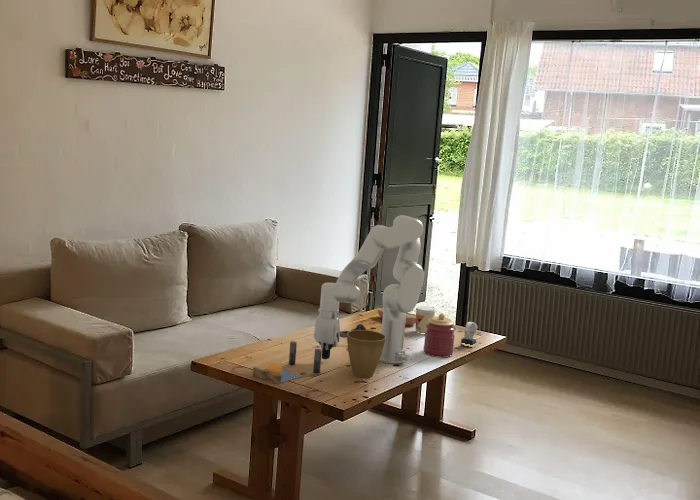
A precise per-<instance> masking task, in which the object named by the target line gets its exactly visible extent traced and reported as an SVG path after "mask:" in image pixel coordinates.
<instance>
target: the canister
mask: <svg viewBox="0 0 700 500" xmlns="http://www.w3.org/2000/svg"><path fill="white" fill-rule="evenodd" d="M428 322H429V323H428V324H426V328H427V329H426V332H425V335H424V344H423V352H425V353H424V354H426V355H428V354H429V355H428V356H431V355H433V356H432V357H436V356H441V357H440V358H444V357H443V356H449V357H451V356H450V355H452V356H453V353H454V349H455V348H454V344H455V343H454V342H455V335H456V334H455V331H456V327H455V326H454V325H455V322H454V321H453V320H452V319H451V318H449V317H445V314H444V313H440V314H438V316H434V317H432V318H431V319H429V320H428Z"/></svg>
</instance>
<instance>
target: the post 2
mask: <svg viewBox="0 0 700 500" xmlns="http://www.w3.org/2000/svg"><path fill="white" fill-rule="evenodd" d="M313 356H314V357H313V358H314V359H313V371H312V373H314V374H320V373H321V365H322V364H321V363H322V349H321V348H314V354H313Z"/></svg>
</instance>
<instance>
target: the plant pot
mask: <svg viewBox="0 0 700 500" xmlns="http://www.w3.org/2000/svg"><path fill="white" fill-rule="evenodd" d="M352 330H353V329H352ZM348 331H349V330H348ZM385 340H386V336H385V335H383V334H381V332H378V331H373V330H368V329H366V330H353V331H351V330H350V331H349V332H348V333H347V337H346V342H347V351H348V358H349V362H350V367H351V370H352V374H353V376H355V377H356V378H361V379H369V378H373V375H374V373H375V372H376V369H377V368H378V365H379V363H380V361H379V360H380V357H381V354H382V351H383V348H384V344H385Z"/></svg>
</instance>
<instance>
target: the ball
mask: <svg viewBox="0 0 700 500" xmlns="http://www.w3.org/2000/svg"><path fill="white" fill-rule="evenodd" d="M282 369H283V368H282V366H281V365H280V363H278V362H270V363H269V364H268V365H267V367H266V371H268V372H271V373H274V374H277V375H280V374H281V372H282Z"/></svg>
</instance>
